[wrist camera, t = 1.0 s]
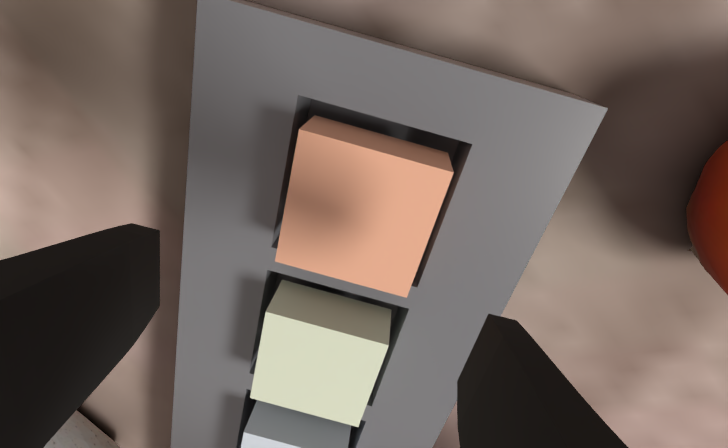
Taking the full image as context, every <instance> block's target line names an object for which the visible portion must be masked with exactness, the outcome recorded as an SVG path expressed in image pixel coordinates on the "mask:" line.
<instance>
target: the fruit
mask: <svg viewBox="0 0 728 448" xmlns="http://www.w3.org/2000/svg"><path fill="white" fill-rule="evenodd" d="M686 212H687V230H688V232H689V237H690V240H691V242H692V248H691V249H689V251H692V252H693V253H694V255H695V256H696V257H697V258H698V259H699V261H700V263H701V265H702V266H703V267H704V269H705V270H706V271H707V272H708V273H709V274H710V275H711V276H712V278H713V279H714V280H715V281H716V282H717V283H718V285H719V286H720V287H721V288H722V289H723V290H724V291H725V292H726V293H727V295H728V140H727V141H726V142H725V143H724V144H722V145H721V146H720V147H719V148H718V149H717V150H716V151H715V152H714V154H713V155H712V156H711V157H710V158H709V160H708V161H707V163H706V164H705V166H704V168H703V170H702V173H701V175H700V178H699V180H698V183H697V185H696V188H695V190H694V192H693V193H692V195H691V198H690V201H689V203H688V205H687V207H686Z"/></svg>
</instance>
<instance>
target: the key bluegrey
mask: <svg viewBox="0 0 728 448" xmlns="http://www.w3.org/2000/svg"><path fill="white" fill-rule="evenodd" d="M350 431H351V425H348V424H344V423H341V422H337V421H333V420H330V419H326V418H322V417H318V416H315V415H311V414H307V413H304V412H300V411H296V410H293V409H289V408H285V407H281V406H278V405H274V404H270V403H267V402H263V401H259V400H257V401H256V404H255V406H254V408H253V411H252V413H251V416H250V418H249V420H248V423H247V425H246V428H245V430H244V433H243V438H242V444H241V448H348V444H349V437H350Z"/></svg>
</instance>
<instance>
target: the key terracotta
mask: <svg viewBox="0 0 728 448" xmlns="http://www.w3.org/2000/svg"><path fill="white" fill-rule="evenodd" d="M453 173H454V172H453V168H452V165H451V161H450V158H449V154H448V153H447V152H444V151H440V150H437V149H433V148H430V147H426V146H423V145H419V144H415V143H412V142H408V141H405V140H401V139H398V138H394V137H391V136H387V135H384V134H380V133H376V132H373V131H369V130H366V129H362V128H359V127H355V126H352V125H348V124H345V123H341V122H337V121H334V120H330V119H327V118H323V117H320V116H316V115H314V116H313V117H312V118H311V119H310V120H309V121H308V122H306V123H305V124H304V125H303V126H302V127H301V128H300V129H299V132H298V138H297V143H296V148H295V154H294V159H293V165H292V170H291V176H290V181H289V187H288V192H287V198H286V203H285V209H284V214H283V220H282V225H281V230H280V236H279V241H278V247H277V252H276V258H275V262H279V263H282V264H286V265H289V266H293V267H297V268H300V269H304V270H308V271H311V272H315V273H318V274H322V275H326V276H329V277H333V278H337V279H340V280H344V281H348V282H351V283H355V284H358V285H362V286H366V287H369V288H373V289H377V290H380V291H384V292H387V293H391V294H395V295H398V296H402V297H406V298H407V296H408V293H409V291H410V288H411V285H412V283H413V280H414V277H415V275H416V272H417V269H418V267H419V264H420V261H421V259H422V256H423V253H424V251H425V248H426V245H427V243H428V240H429V237H430V235H431V232H432V229H433V227H434V224H435V221H436V219H437V216H438V213H439V211H440V208H441V205H442V203H443V200H444V197H445V195H446V192H447V189H448V187H449V184H450V181H451V179H452V176H453Z"/></svg>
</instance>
